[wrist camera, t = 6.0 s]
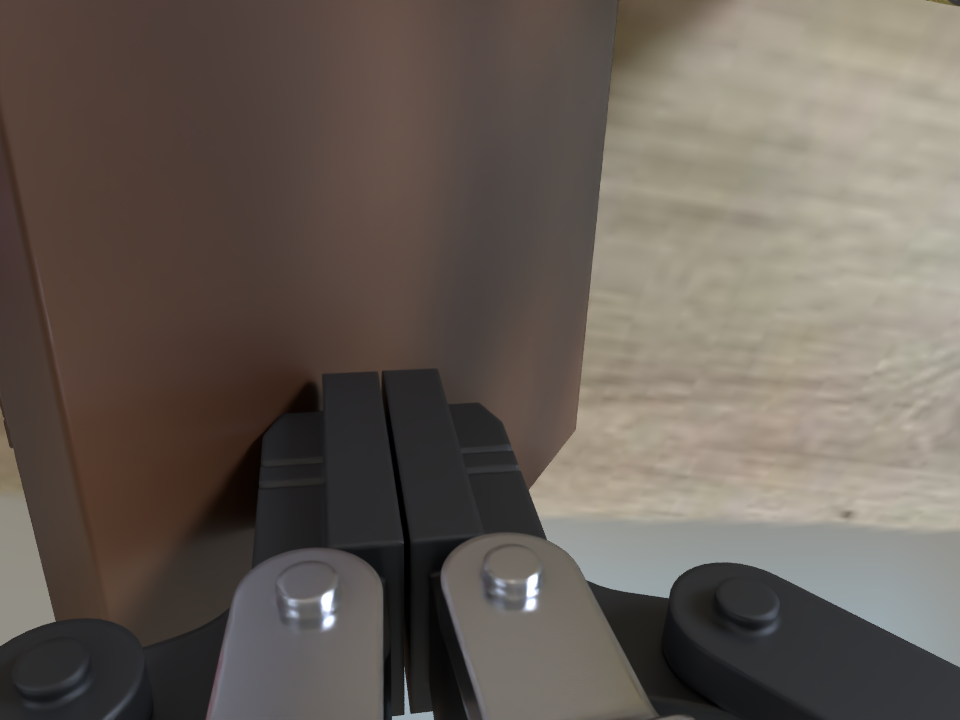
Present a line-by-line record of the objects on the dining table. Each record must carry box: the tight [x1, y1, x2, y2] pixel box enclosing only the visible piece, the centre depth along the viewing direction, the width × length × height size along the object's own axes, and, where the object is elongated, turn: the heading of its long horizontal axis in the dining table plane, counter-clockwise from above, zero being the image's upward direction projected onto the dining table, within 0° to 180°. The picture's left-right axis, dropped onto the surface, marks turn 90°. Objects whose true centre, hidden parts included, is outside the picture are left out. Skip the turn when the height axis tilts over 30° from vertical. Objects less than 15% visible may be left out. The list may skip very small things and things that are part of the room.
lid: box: [0, 0, 618, 648], centre depth 14 cm, size 14×12×1 cm
